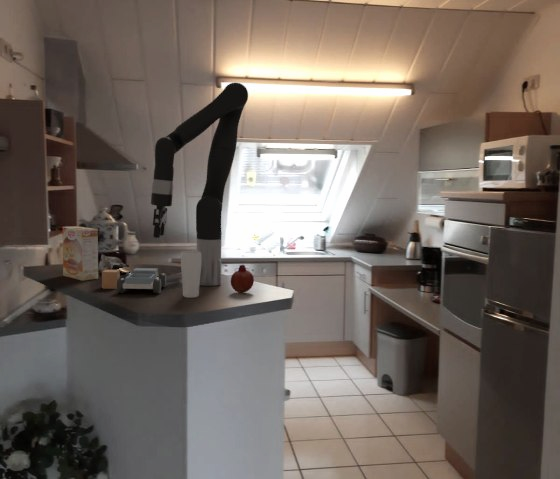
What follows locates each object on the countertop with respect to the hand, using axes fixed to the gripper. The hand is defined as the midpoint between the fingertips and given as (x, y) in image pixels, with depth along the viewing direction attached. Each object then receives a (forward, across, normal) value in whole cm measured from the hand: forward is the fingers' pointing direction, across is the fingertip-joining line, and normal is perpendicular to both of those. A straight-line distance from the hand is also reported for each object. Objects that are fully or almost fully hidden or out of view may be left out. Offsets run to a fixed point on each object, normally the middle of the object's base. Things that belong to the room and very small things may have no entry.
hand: (158, 236), depth 197 cm
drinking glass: (+17, -21, -16) cm, 31 cm away
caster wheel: (+20, +24, +20) cm, 37 cm away
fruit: (+16, -14, -33) cm, 39 cm away
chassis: (+18, -11, +2) cm, 21 cm away
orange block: (+19, -7, +14) cm, 25 cm away
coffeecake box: (+21, +12, +31) cm, 39 cm away
